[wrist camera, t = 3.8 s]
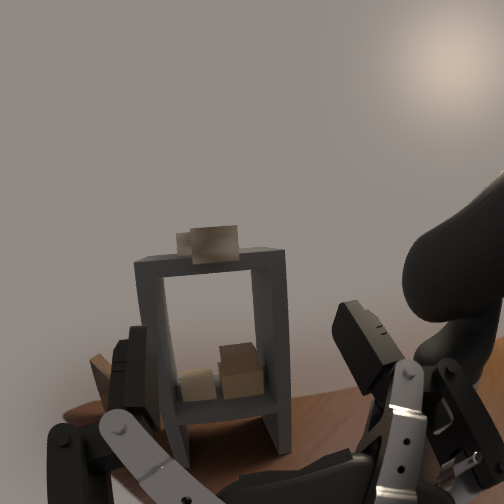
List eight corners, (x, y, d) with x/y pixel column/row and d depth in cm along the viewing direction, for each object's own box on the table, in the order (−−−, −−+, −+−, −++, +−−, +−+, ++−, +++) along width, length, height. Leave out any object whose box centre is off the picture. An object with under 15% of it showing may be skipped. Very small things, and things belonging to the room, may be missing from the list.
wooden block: (116, 413, 48) (95, 334, 47) (161, 421, 47) (142, 338, 45) (107, 421, 44) (84, 340, 43) (154, 432, 43) (132, 346, 42)
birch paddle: (231, 249, 45) (230, 230, 45) (262, 258, 25) (259, 223, 25) (179, 253, 43) (178, 234, 43) (169, 266, 24) (166, 230, 24)
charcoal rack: (271, 414, 49) (261, 246, 47) (291, 452, 37) (284, 249, 35) (177, 426, 45) (148, 256, 43) (177, 468, 33) (133, 262, 32)
